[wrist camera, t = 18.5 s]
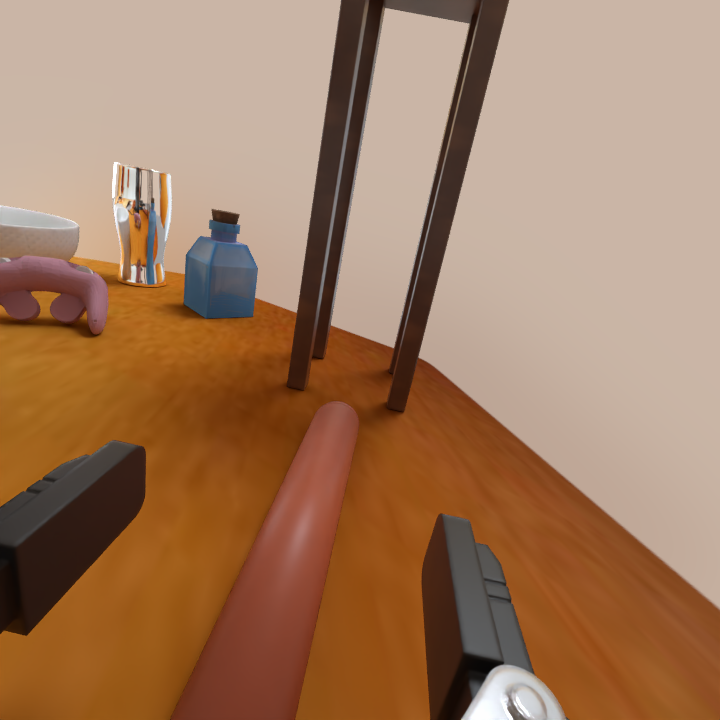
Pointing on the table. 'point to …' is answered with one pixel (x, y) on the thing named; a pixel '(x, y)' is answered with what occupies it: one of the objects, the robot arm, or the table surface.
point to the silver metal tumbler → (141, 223)
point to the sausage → (278, 587)
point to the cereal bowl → (36, 234)
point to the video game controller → (53, 290)
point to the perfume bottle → (220, 272)
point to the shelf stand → (340, 162)
